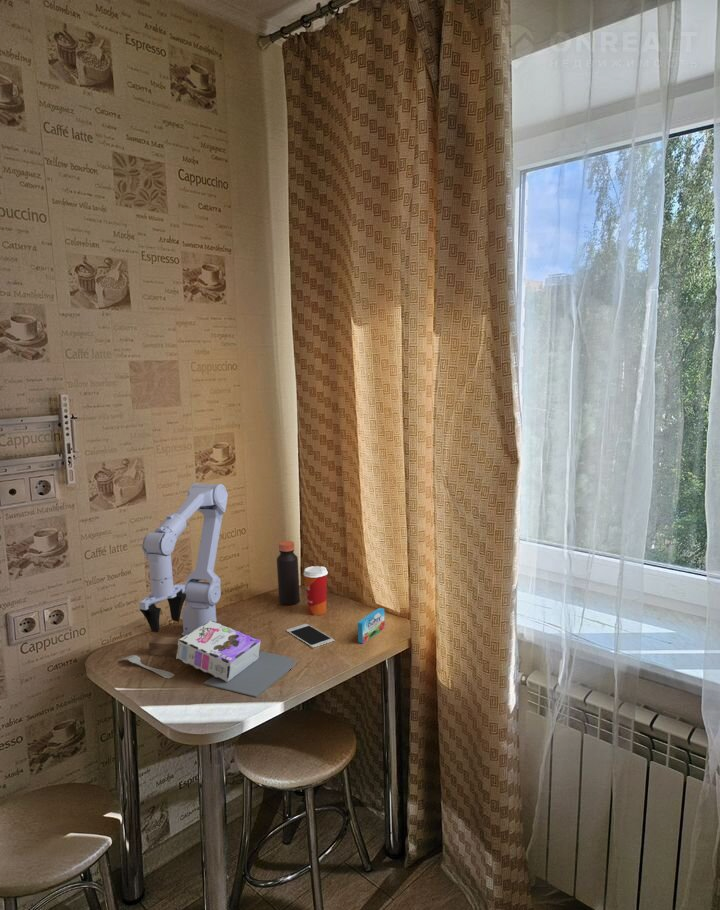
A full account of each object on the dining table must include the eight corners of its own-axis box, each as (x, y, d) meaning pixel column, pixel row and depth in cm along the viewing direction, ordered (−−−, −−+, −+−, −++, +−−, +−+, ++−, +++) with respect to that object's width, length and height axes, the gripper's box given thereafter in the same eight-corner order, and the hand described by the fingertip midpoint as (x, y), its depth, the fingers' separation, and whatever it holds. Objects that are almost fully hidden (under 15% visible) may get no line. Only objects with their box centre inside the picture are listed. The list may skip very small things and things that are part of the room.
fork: (168, 689, 161) (167, 679, 160) (115, 662, 172) (115, 653, 171) (176, 684, 163) (176, 674, 163) (124, 658, 174) (123, 648, 174)
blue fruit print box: (380, 627, 187) (380, 607, 186) (385, 628, 186) (384, 608, 185) (358, 643, 177) (357, 622, 176) (362, 644, 176) (362, 623, 175)
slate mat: (203, 684, 157) (203, 683, 157) (252, 650, 175) (252, 649, 175) (256, 697, 150) (256, 696, 150) (301, 660, 168) (301, 659, 168)
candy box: (230, 662, 155) (176, 639, 162) (228, 683, 157) (174, 660, 163) (261, 639, 168) (210, 618, 174) (258, 659, 169) (208, 638, 175)
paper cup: (308, 607, 204) (306, 565, 202) (331, 607, 203) (329, 565, 201) (302, 617, 197) (300, 573, 195) (327, 617, 196) (325, 573, 194)
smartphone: (306, 625, 191) (306, 622, 191) (335, 642, 179) (335, 639, 178) (285, 632, 187) (285, 629, 187) (313, 650, 175) (313, 647, 174)
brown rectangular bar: (149, 654, 175) (148, 642, 174) (157, 648, 179) (156, 636, 178) (204, 658, 171) (203, 646, 171) (210, 651, 175) (209, 639, 175)
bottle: (285, 597, 214) (282, 539, 211) (303, 599, 211) (300, 540, 208) (275, 604, 208) (271, 545, 205) (293, 607, 205) (290, 546, 202)
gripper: (152, 587, 160) (156, 639, 162) (191, 570, 173) (195, 618, 175) (131, 584, 163) (136, 634, 165) (172, 567, 176) (176, 614, 178)
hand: (165, 625), depth 170 cm, fingers open, 7 cm apart
